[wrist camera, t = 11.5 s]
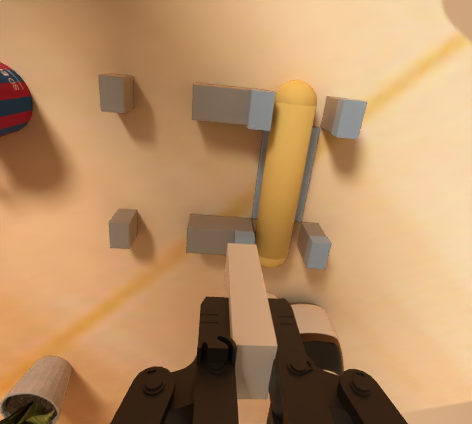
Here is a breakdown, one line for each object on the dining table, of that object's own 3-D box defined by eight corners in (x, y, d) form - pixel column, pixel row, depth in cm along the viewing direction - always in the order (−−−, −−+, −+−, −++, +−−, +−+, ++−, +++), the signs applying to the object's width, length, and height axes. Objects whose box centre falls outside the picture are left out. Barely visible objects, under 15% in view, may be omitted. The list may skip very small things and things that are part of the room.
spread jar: (317, 349, 46) (346, 433, 36) (239, 350, 46) (244, 435, 35) (329, 280, 41) (366, 354, 31) (242, 281, 41) (249, 355, 30)
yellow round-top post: (279, 77, 31) (274, 77, 28) (321, 82, 31) (320, 82, 27) (254, 253, 39) (247, 270, 36) (286, 259, 39) (283, 278, 35)
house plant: (36, 306, 41) (-69, 442, 26) (125, 358, 45) (79, 500, 30) (-18, 366, 45) (-137, 514, 30) (69, 409, 49) (3, 557, 34)
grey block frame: (111, 72, 30) (91, 73, 26) (346, 97, 32) (367, 102, 28) (120, 233, 37) (105, 256, 33) (312, 246, 39) (325, 269, 34)
